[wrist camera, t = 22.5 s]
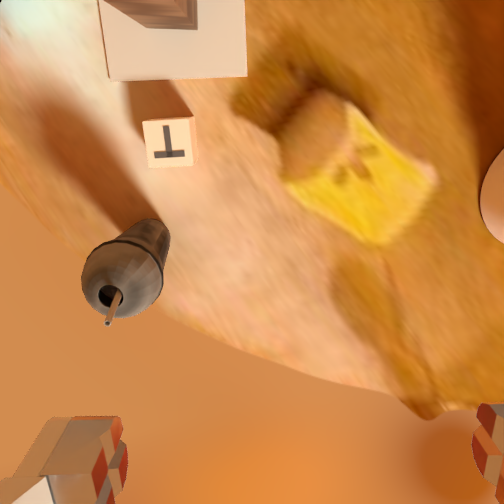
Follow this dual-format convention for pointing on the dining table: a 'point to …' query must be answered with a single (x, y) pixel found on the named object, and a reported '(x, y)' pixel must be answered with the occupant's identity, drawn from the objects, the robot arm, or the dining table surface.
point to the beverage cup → (127, 271)
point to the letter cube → (170, 142)
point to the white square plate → (177, 45)
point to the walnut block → (160, 13)
